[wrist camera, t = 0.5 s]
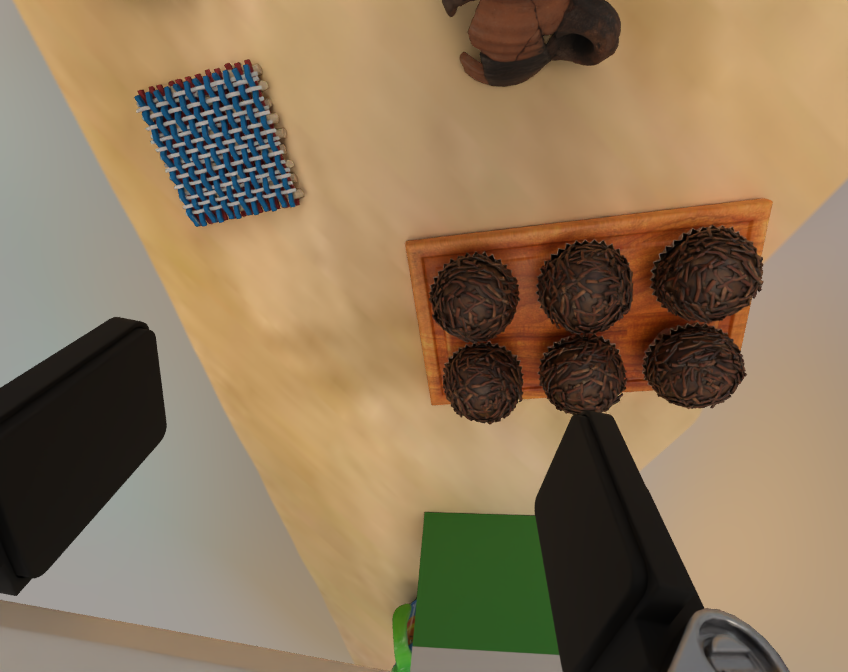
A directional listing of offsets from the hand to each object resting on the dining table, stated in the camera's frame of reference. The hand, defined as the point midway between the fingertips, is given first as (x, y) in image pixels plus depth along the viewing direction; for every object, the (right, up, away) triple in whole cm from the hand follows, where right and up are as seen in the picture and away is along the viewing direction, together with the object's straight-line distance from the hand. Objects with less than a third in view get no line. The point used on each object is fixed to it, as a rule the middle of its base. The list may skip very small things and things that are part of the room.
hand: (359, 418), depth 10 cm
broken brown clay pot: (+8, +24, +20) cm, 32 cm away
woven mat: (-14, +17, +26) cm, 34 cm away
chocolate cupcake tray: (+15, +4, +30) cm, 34 cm away
